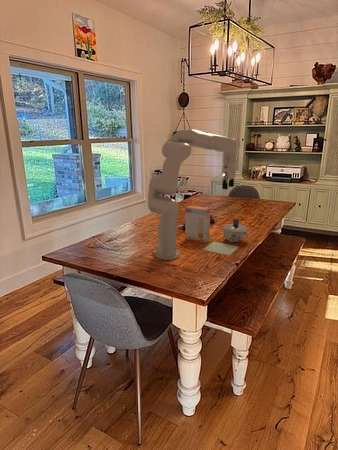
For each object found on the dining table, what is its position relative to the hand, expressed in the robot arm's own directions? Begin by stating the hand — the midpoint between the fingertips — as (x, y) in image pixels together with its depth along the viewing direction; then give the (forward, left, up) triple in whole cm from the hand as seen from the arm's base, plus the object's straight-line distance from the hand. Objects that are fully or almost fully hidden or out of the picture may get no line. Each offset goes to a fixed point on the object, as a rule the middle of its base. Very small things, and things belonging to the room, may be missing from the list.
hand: (228, 187), depth 195 cm
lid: (+10, -9, -22) cm, 26 cm away
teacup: (+10, -9, -31) cm, 33 cm away
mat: (+8, -25, -30) cm, 40 cm away
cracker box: (-10, -20, -31) cm, 38 cm away
